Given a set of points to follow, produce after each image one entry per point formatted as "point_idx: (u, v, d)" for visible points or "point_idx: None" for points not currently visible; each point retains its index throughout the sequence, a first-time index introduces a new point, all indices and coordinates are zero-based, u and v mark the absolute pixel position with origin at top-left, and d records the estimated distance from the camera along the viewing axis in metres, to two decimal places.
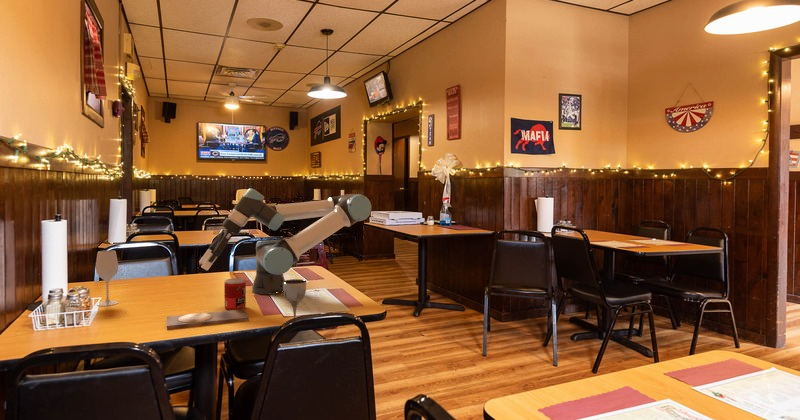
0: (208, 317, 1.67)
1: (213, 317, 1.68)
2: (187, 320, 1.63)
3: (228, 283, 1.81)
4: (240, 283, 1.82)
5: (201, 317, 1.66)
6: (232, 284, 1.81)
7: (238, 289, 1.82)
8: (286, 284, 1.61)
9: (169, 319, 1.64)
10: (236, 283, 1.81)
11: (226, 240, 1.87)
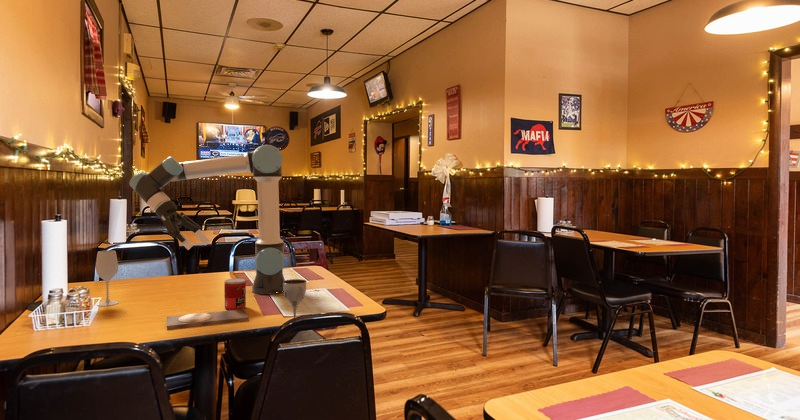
0: (208, 317, 1.67)
1: (213, 317, 1.68)
2: (187, 320, 1.63)
3: (228, 283, 1.81)
4: (240, 283, 1.82)
5: (201, 317, 1.66)
6: (232, 284, 1.81)
7: (238, 289, 1.82)
8: (286, 284, 1.61)
9: (169, 319, 1.64)
10: (236, 283, 1.81)
11: (166, 220, 1.80)
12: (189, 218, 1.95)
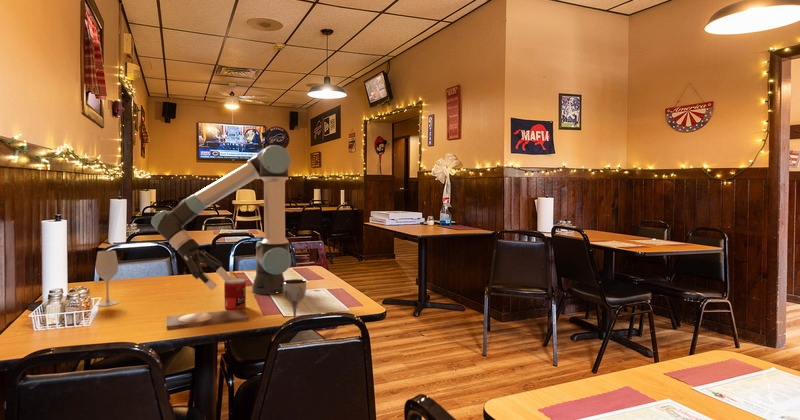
0: (208, 317, 1.67)
1: (213, 317, 1.68)
2: (187, 320, 1.63)
3: (228, 283, 1.81)
4: (240, 283, 1.82)
5: (201, 317, 1.66)
6: (232, 284, 1.81)
7: (238, 289, 1.82)
8: (286, 284, 1.61)
9: (169, 319, 1.64)
10: (236, 283, 1.81)
11: (189, 261, 1.77)
12: (210, 255, 1.92)
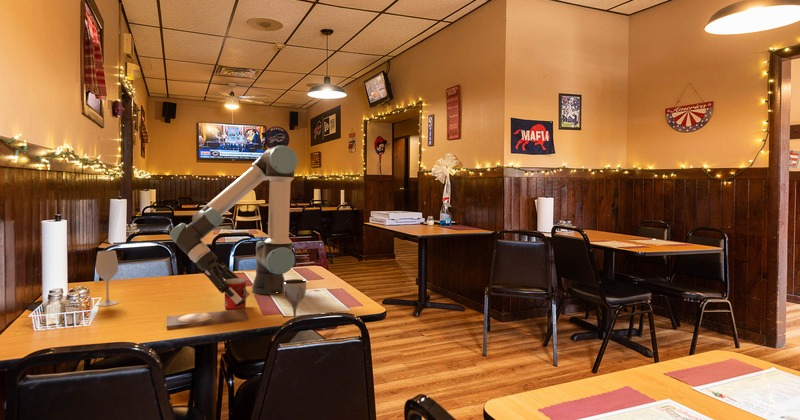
0: (208, 317, 1.67)
1: (213, 317, 1.68)
2: (187, 320, 1.63)
3: (228, 283, 1.81)
4: (240, 283, 1.82)
5: (201, 317, 1.66)
6: (232, 284, 1.81)
7: (238, 289, 1.82)
8: (286, 284, 1.61)
9: (169, 319, 1.64)
10: (236, 283, 1.81)
11: (211, 276, 1.78)
12: (229, 270, 1.91)
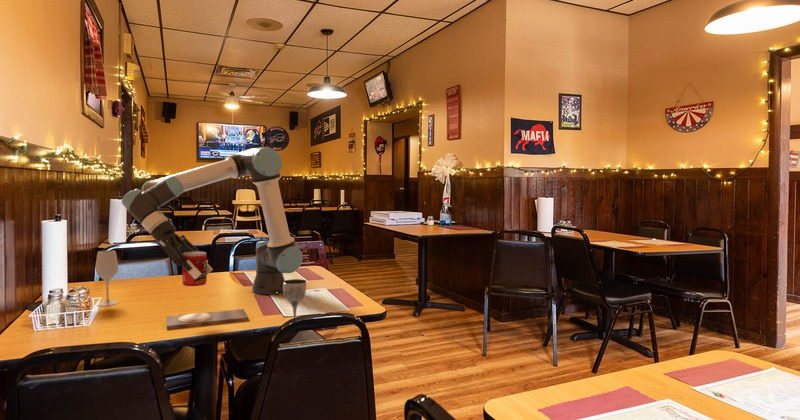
0: (208, 317, 1.67)
1: (213, 317, 1.68)
2: (187, 320, 1.63)
3: (186, 255, 1.62)
4: (199, 256, 1.63)
5: (201, 317, 1.66)
6: (190, 257, 1.62)
7: (197, 263, 1.62)
8: (286, 284, 1.61)
9: (169, 319, 1.64)
10: (195, 255, 1.62)
11: (167, 247, 1.59)
12: None
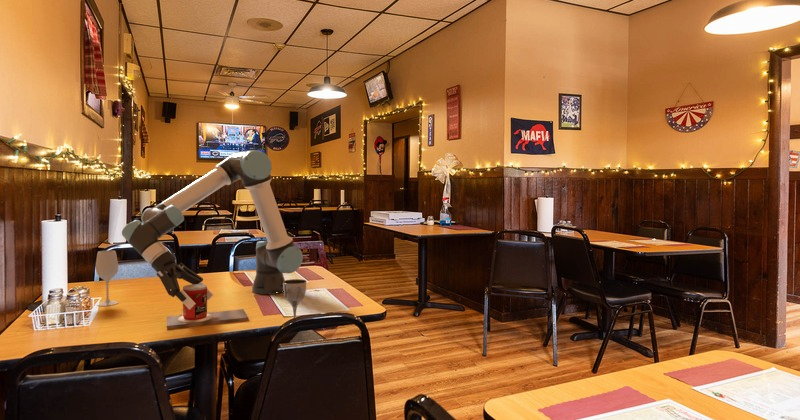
0: (208, 317, 1.67)
1: (213, 317, 1.68)
2: (187, 320, 1.63)
3: (187, 289, 1.62)
4: (200, 290, 1.63)
5: None
6: (191, 291, 1.62)
7: (198, 297, 1.63)
8: (286, 284, 1.61)
9: (169, 319, 1.64)
10: (195, 290, 1.62)
11: (164, 277, 1.59)
12: (189, 269, 1.73)
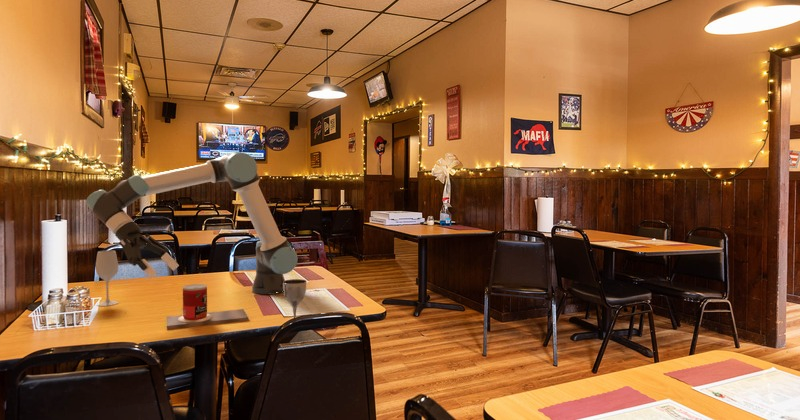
0: (208, 317, 1.67)
1: (213, 317, 1.68)
2: (187, 320, 1.63)
3: (187, 289, 1.62)
4: (200, 290, 1.63)
5: None
6: (191, 291, 1.62)
7: (198, 297, 1.63)
8: (286, 284, 1.61)
9: (169, 319, 1.64)
10: (195, 290, 1.62)
11: (126, 245, 1.59)
12: (155, 240, 1.74)
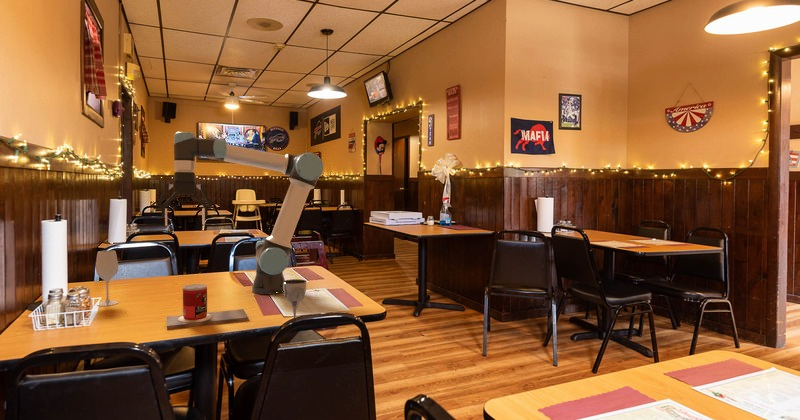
0: (208, 317, 1.67)
1: (213, 317, 1.68)
2: (187, 320, 1.63)
3: (187, 289, 1.62)
4: (200, 290, 1.63)
5: None
6: (191, 291, 1.62)
7: (198, 297, 1.63)
8: (286, 284, 1.61)
9: (169, 319, 1.64)
10: (195, 290, 1.62)
11: (164, 190, 1.85)
12: (205, 193, 1.91)
